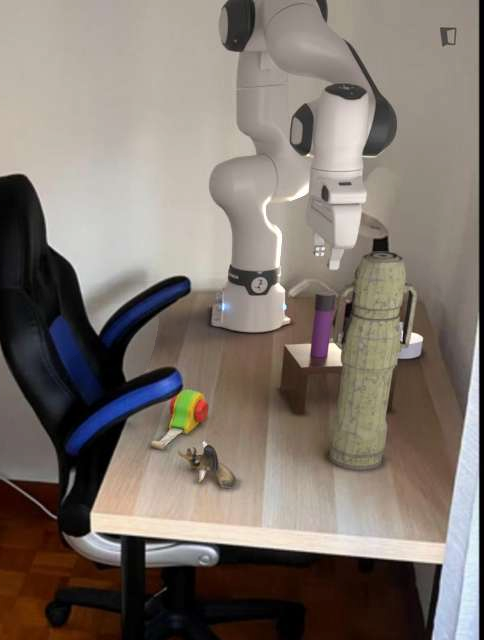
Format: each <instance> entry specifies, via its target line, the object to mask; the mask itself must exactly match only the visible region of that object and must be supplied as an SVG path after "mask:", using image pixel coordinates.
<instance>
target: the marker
mask: <svg viewBox="0 0 484 640" xmlns="http://www.w3.org/2000/svg"><path fill="white" fill-rule="evenodd" d="M336 296H337V294H336V292H334V291H333V290H332V291H330V290H318V291H316V292H315V298H314V299H315V301H314V316H313V324H312V334H311V341H310V342H311V352H310V355H311V356H313V357H326V356H327V355H328V347H329V339H331V331H332V321H333V312H334V310H335V301H336Z"/></svg>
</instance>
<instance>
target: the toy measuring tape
mask: <svg viewBox="0 0 484 640" xmlns="http://www.w3.org/2000/svg"><path fill="white" fill-rule="evenodd" d="M169 413H170V415H171V419H170V421H169V425H168V431H167V432H166V434H165V435H164V436H163V437H161V439H160V440H154V439H153V440H151V443H150V447H152V448H154V449H158V450H164V447H166V446H167V445H168V444H169V443H170V442H171V441H173V440H174V439H175V438H176V437H177V436H178V435H180V434H185V435H186V434H188V433H190V432H191V431H192V430H194V429H195V428H196V427H197V426H198V425H199V424H200V423H203V422H204V421H205V420H206V419H207V417H208V414H209V403H208V402H207V400H206V398H205V396H204V394H203V393H201V392H200V391H197V390H192V389H184V390H181V391H180V392H179V393H177V394H176V395H175V396H174V397H173V398H172V399H171V401H170V403H169Z"/></svg>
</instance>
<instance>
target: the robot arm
mask: <svg viewBox="0 0 484 640" xmlns="http://www.w3.org/2000/svg"><path fill="white" fill-rule="evenodd" d="M327 1H328V0H226V2H225V3H224V4H223V5H222V7H221V11H220V14H219V17H218V25H217V26H218V34H219V37H220V42H221V44H222V46H223V48H225V50H227V51H229V52H233V53H238V60H237V69H236V82H235V83H236V84H235V89H236V90H235V92H236V93H235V94H236V95H235V99H236V101H235V102H236V103H235V104H236V106H235V107H236V108H235V109H236V111H235V112H236V117H235V119H236V126H237V128H238V130H239V131H240V132H241V133H242V134H244V135H245V136H247V137H249V138H250V140H251V141H252V143H253V146H254V148H255V154H254V155H253V154H252V155H244V156H236V157H233V158H230V159H227V160H224V161H222V162H220V163H217V164H216V165H215V166H214V167H213V169H212V171H211V173H210V176H209V179H208V190H209V194H210V197H211V198H212V199H211V200H212V201H213V202H214V203H215V204H216V205H217V206H218V207H219V208H221V210H222V211H223V212H224V214H225V215H226V217H227V219H228V221H229V224H230V229H231V260H230V261H231V263H230V264H229V267H228V270H227V271H228V272H227V281H226V283H225V284H224V285H223V287H222V290H221V292H219V291H218V292H215V297H214V302H215V303H216V304H213V305H212V308H211V309H212V310H211V319H210V321H211V322H210V325H211V326H213V327H219V328H224V329H227V330H230V331H234V332H241V333H264V332H265V333H266V332H271V331H275V330H277V329H279V328H281V327H282V326H285V325H288V324H291V318H290V317H288V316H287V315H286V314H285V310H287V305H286V304H285V303H286V290H285V288H284V286H282V285H281V284H280V281H281V276H282V266H281V265H280V263H281V251H282V240H283V239H282V238H283V236H282V232H281V230H280V228H279V227H278V226H277V225H275V224H274V223H272V222H271V221H269V220H268V218H267V213H266V206H267V205H273V204H281V203H287V202H290V201H293V200H296V199H298V198H301V197H303V196H305V195H307V194H308V200H307V205H306V212H305V224H306V226H307V227H308V228H309V229H311V231H312V244H313V247H312V248H313V249H312V254H313V255H314V256H315V257H324V256H325V254H326V253H325V252H326V246H325V242H326V244H328V245H329V246H330V247H329V250H330V253H329V257H328V258H327V261H326V262H327V264H326V267H327V268H328V269H329V270H330V271H337V270H339V268H340V263H341V260H342V257H343V255H344V253H345V250H351V249H353V248H354V247H355V245H356V243H357V240H358V235H359V230H360V225H361V220H362V214H363V213H362V211H363V208H362V204H365V203H366V202H367V197H368V192H367V189H366V187H365V184H364V180H363V172H364V171H363V170H364V160H363V158H376V157H378V156H379V155H381V154H382V153H383V152H384V151H385V150H386V149H388V148H389V147H390V145H391V144H392V143H393V142H394V140H395V138H396V136H397V131H398V117H397V114H396V110H395V108H394V107H393V105H392V104H391V103H390V102H389V100H388V99H387V98H386V97H385V96H384V95H383V94H382V93H381V91H380V90H379V89H378V87H377V85H376V84H375V82H374V80H373V78H372V77H371V74H370V73H369V71H368V70H367V69H368V68H366V66H365V64H364V62H363V61H362V58H361V57H360V56H359V54H358V53H357V51H356V48H354V46H353V45H352V44H351V43H350V42H349V41H348V40H346V39H345V38H342V37H341V36H340V35H338V34H337V32H335V31H334V30H333V29H332V28H331V27H330V25H328V20H329V8H328V2H327ZM289 74H290V75H293V76H300V77H306V78H313V79H317V80H322V81H325V82H328V83H330V85H327V86H326V87H324V88H323V89H322V90H321V92H320V96H319V97H318V98H316V99H314V100H311V101H309V102H305V103H303V104H301V106H300V107H299V108H298V109H297V110H296V111H295V112H294V113H293V115H292V116H291V121H290V116H289V115H290V113H289ZM310 158H312V160H311V159H310Z"/></svg>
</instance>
